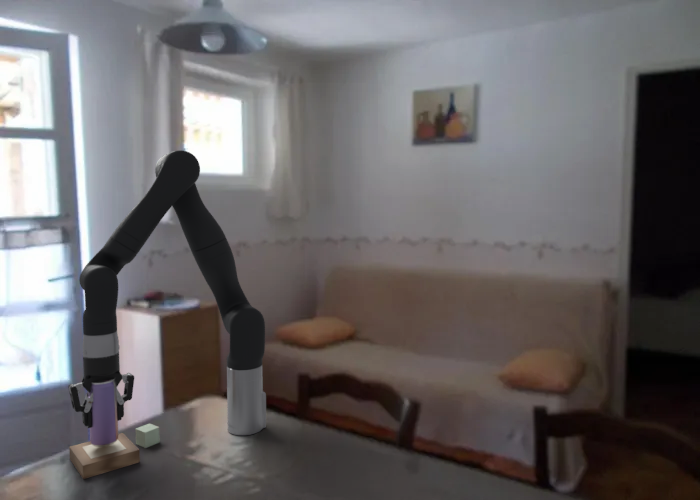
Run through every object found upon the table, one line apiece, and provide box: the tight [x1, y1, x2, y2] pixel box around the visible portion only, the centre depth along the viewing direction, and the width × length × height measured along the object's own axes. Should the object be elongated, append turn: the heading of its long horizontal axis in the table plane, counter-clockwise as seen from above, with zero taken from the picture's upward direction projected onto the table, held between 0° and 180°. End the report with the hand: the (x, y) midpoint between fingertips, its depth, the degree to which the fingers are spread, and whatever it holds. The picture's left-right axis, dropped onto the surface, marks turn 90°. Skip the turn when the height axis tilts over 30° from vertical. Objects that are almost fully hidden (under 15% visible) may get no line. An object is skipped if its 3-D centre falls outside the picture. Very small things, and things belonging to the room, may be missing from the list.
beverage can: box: [88, 378, 119, 447], centre depth 122 cm, size 6×6×15 cm
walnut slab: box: [68, 432, 141, 480], centre depth 123 cm, size 12×12×3 cm
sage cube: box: [134, 423, 161, 449], centre depth 132 cm, size 4×4×4 cm
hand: (103, 422), depth 123 cm, fingers closed on beverage can, 6 cm apart
